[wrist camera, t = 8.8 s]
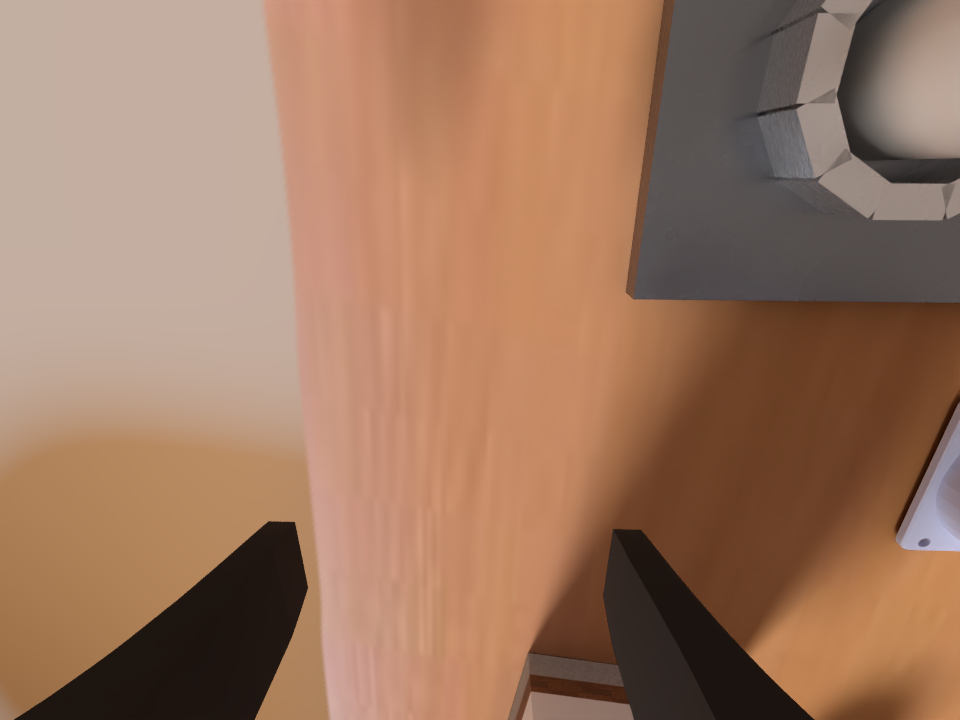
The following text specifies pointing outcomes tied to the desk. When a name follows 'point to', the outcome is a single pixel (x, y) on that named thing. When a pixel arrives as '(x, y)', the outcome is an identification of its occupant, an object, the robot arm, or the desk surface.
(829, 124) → the duct base
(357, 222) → the desk surface
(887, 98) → the cylinder
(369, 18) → the desk surface
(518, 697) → the tall hollow white pillar
